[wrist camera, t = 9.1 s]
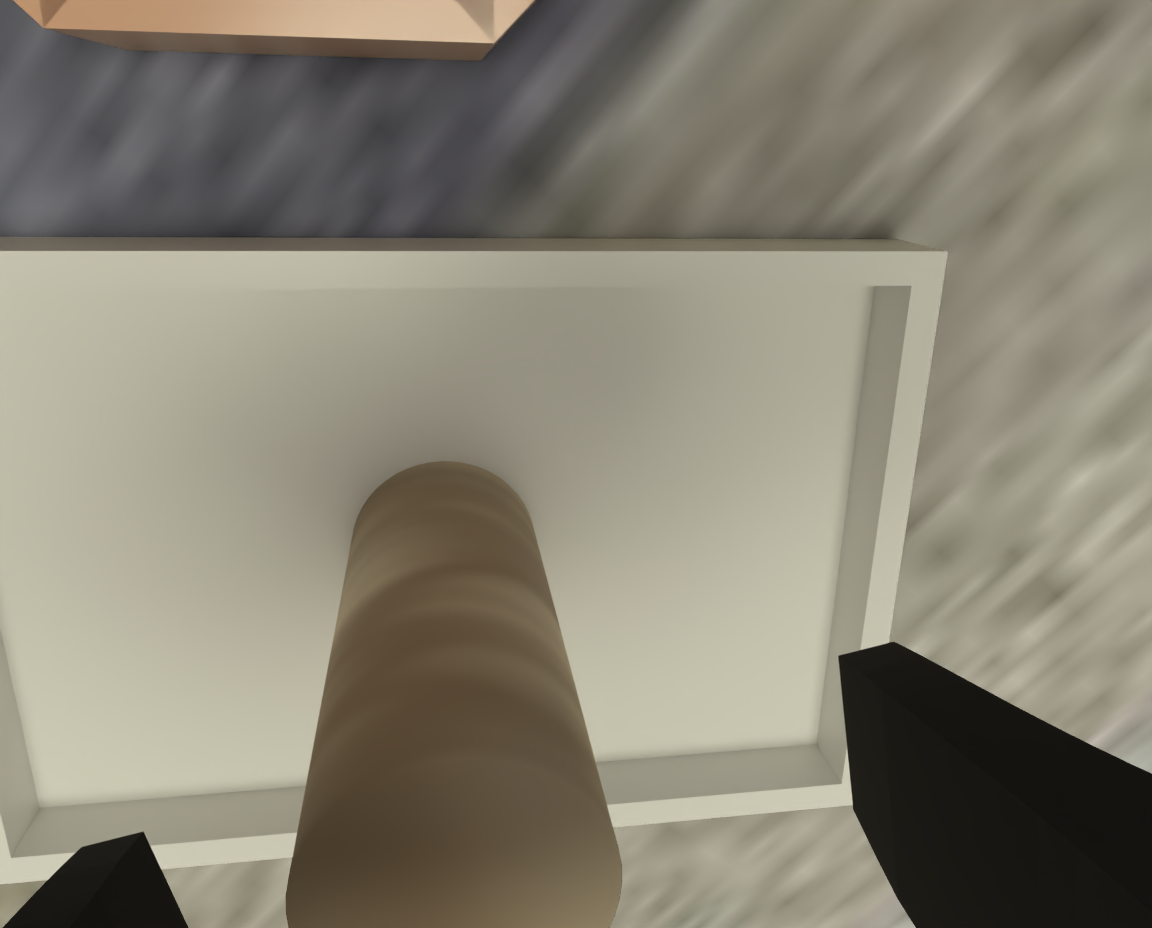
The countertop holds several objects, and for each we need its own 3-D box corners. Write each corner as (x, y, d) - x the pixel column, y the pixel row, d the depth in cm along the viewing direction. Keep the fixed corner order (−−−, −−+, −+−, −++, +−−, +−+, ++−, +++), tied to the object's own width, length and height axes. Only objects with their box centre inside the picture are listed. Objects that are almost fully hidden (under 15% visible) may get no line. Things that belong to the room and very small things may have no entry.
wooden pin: (509, 440, 18) (580, 717, 9) (553, 598, 19) (650, 964, 11) (326, 489, 18) (234, 817, 9) (384, 646, 19) (349, 1058, 10)
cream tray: (894, 238, 18) (947, 251, 16) (827, 747, 22) (864, 804, 20) (-106, 236, 16) (-179, 251, 14) (25, 814, 20) (-17, 886, 18)
